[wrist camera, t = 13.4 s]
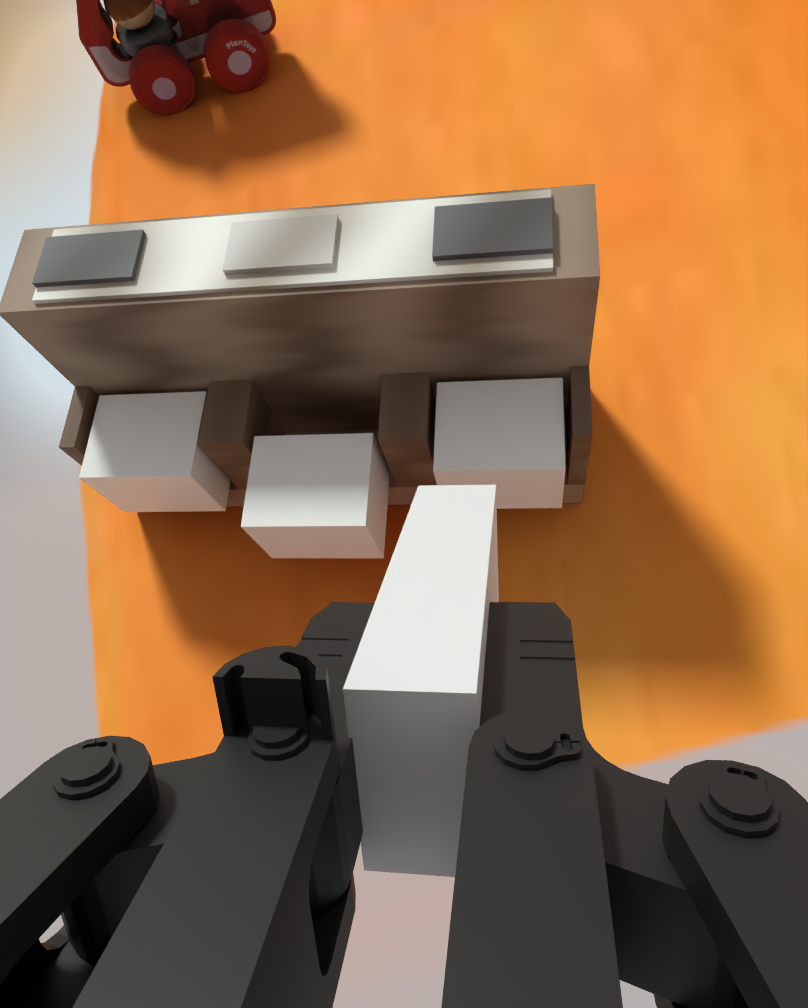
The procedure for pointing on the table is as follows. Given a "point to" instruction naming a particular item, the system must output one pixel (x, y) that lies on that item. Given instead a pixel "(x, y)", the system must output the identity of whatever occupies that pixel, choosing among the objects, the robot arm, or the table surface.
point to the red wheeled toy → (177, 45)
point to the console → (321, 318)
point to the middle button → (317, 496)
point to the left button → (153, 454)
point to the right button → (503, 439)
